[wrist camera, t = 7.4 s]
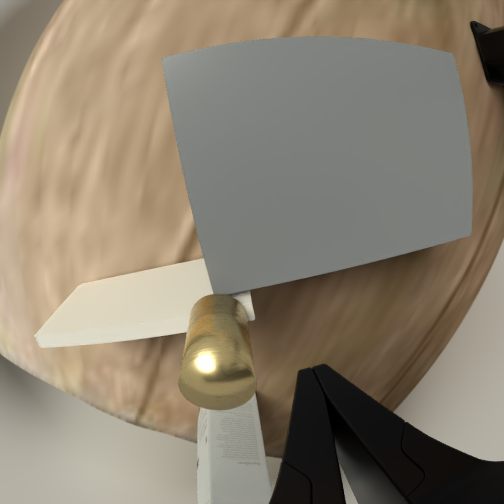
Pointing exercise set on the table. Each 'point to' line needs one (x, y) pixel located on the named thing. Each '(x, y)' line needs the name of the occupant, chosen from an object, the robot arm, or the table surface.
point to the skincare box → (232, 457)
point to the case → (318, 154)
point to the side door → (168, 327)
